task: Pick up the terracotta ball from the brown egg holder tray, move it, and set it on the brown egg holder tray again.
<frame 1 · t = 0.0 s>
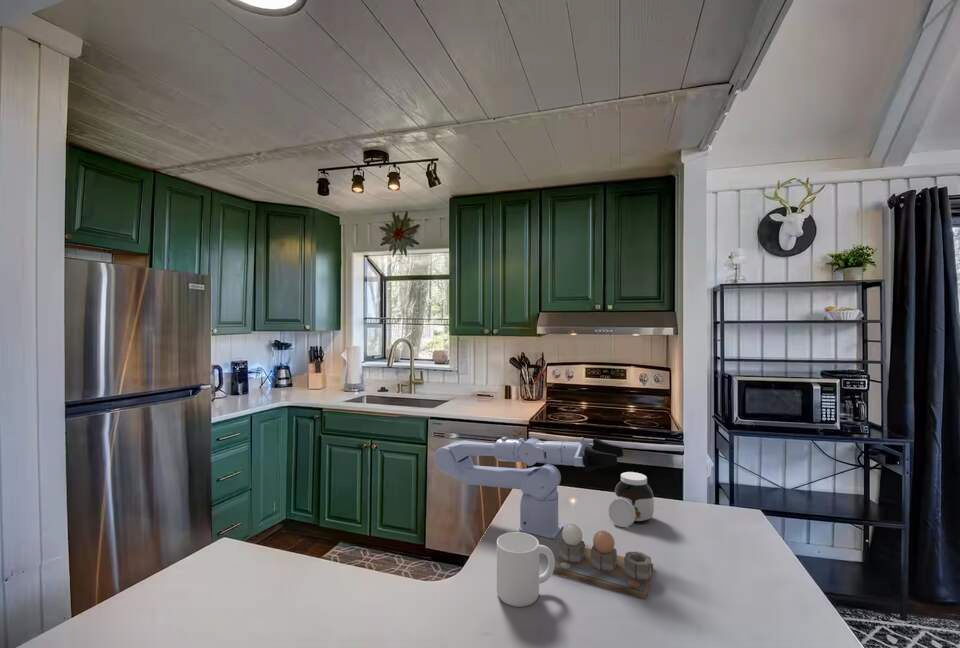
hand: (620, 455, 102), 22 cm above the table, tool horizontal, fingers open, 7 cm apart
terracotta ball: (603, 542, 93), point 6 cm above the table, touching brown egg holder tray
spread jar: (630, 521, 116), on the table
brown egg holder tray: (602, 570, 92), on the table
cream ball: (572, 534, 96), point 6 cm above the table, touching brown egg holder tray
mug: (526, 594, 84), on the table
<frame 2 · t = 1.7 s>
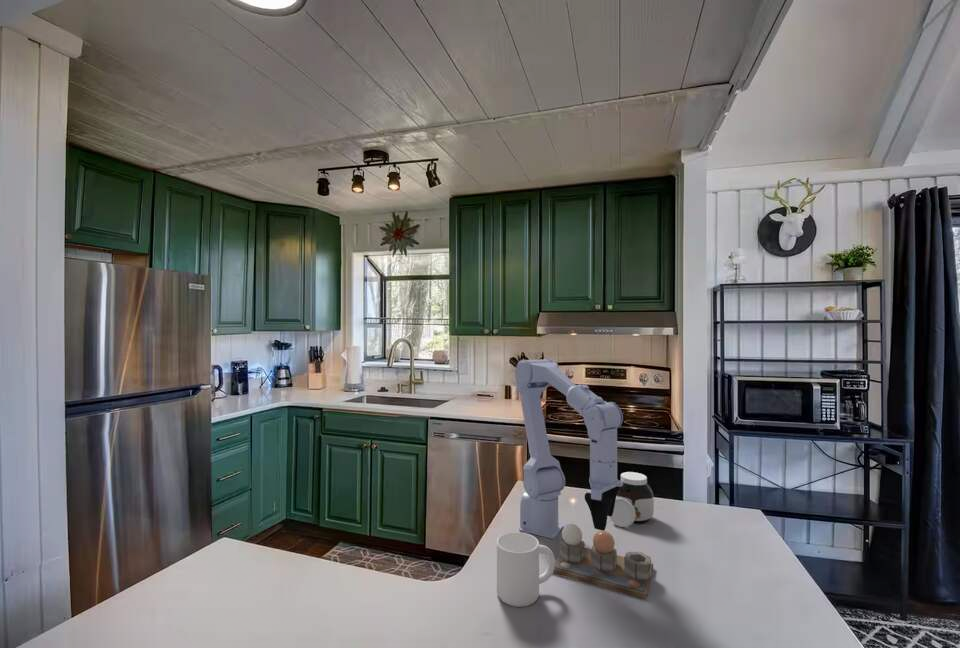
hand: (603, 521, 93), 10 cm above the table, tool pointing down, fingers open, 7 cm apart
nothing on the table moved.
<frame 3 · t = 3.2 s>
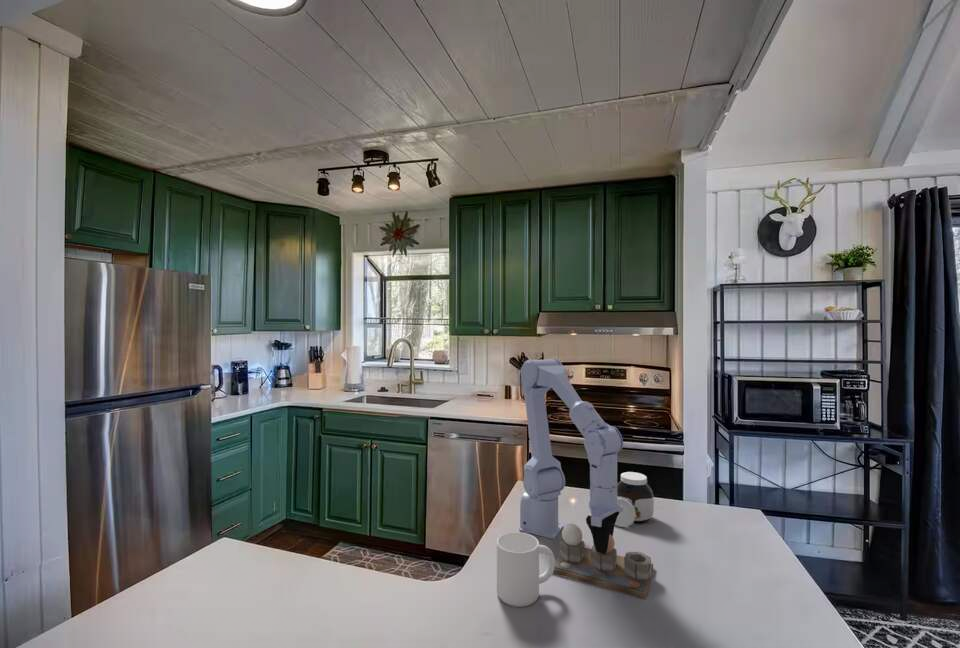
hand: (603, 546, 93), 5 cm above the table, tool pointing down, fingers closed on terracotta ball, 4 cm apart
terracotta ball: (603, 542, 93), point 6 cm above the table, touching gripper, brown egg holder tray
everything else where it was.
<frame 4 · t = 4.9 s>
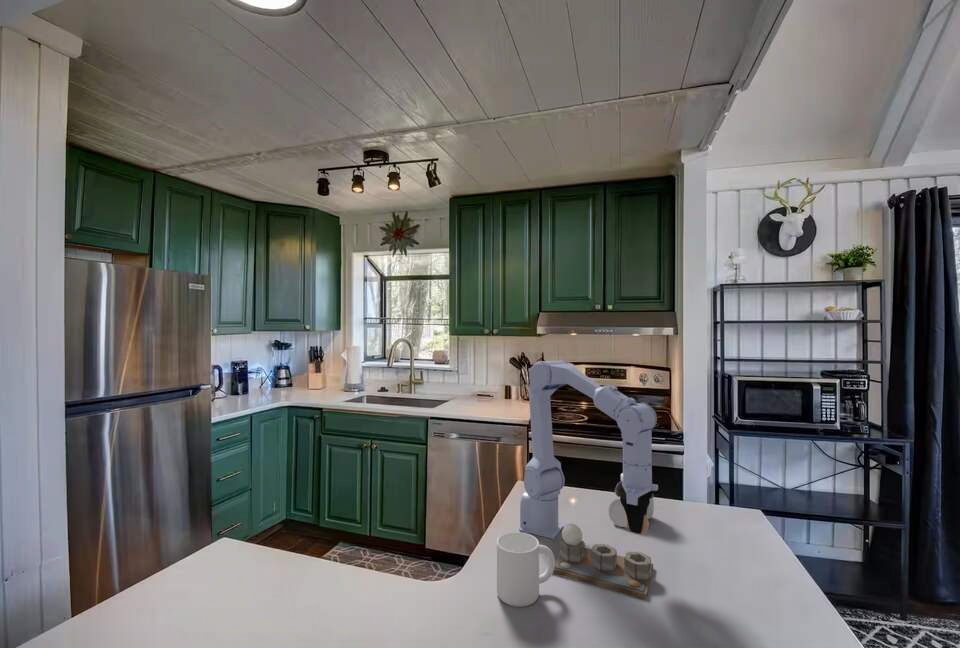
hand: (637, 527, 90), 10 cm above the table, tool pointing down, fingers closed on terracotta ball, 4 cm apart
terracotta ball: (637, 522, 90), point 11 cm above the table, touching gripper
everything else where it was.
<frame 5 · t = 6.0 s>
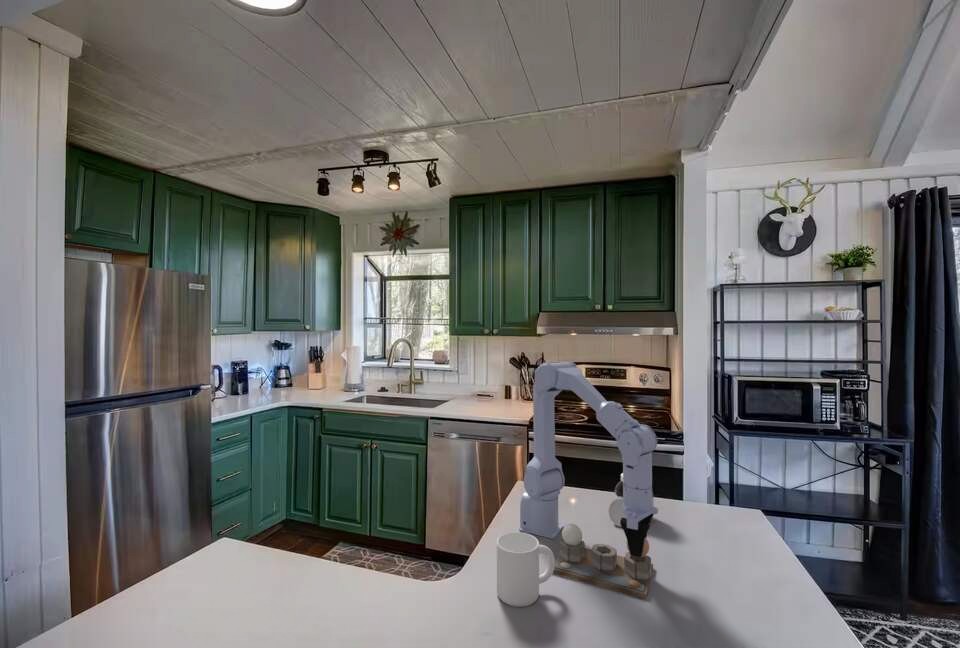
hand: (637, 549, 90), 6 cm above the table, tool pointing down, fingers closed on terracotta ball, 4 cm apart
terracotta ball: (637, 545, 90), point 7 cm above the table, touching gripper
everything else where it was.
when the fingers open (6 cm above the table, at t = 6.6 s): terracotta ball drops 1 cm, resting on brown egg holder tray.
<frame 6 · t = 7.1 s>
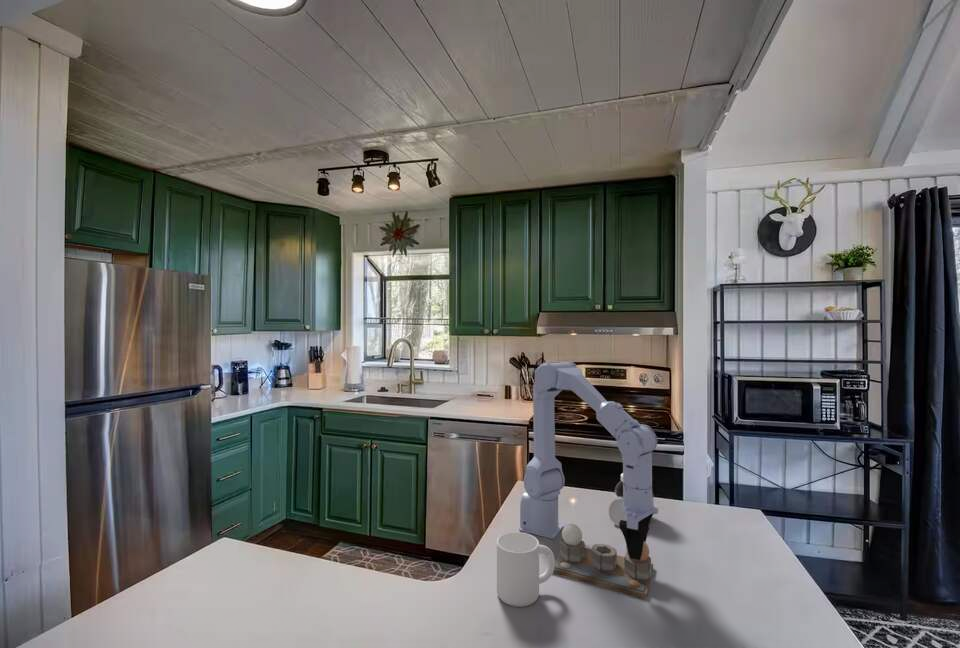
hand: (637, 549, 90), 6 cm above the table, tool pointing down, fingers open, 7 cm apart
terracotta ball: (637, 549, 90), point 6 cm above the table, touching brown egg holder tray
everything else where it was.
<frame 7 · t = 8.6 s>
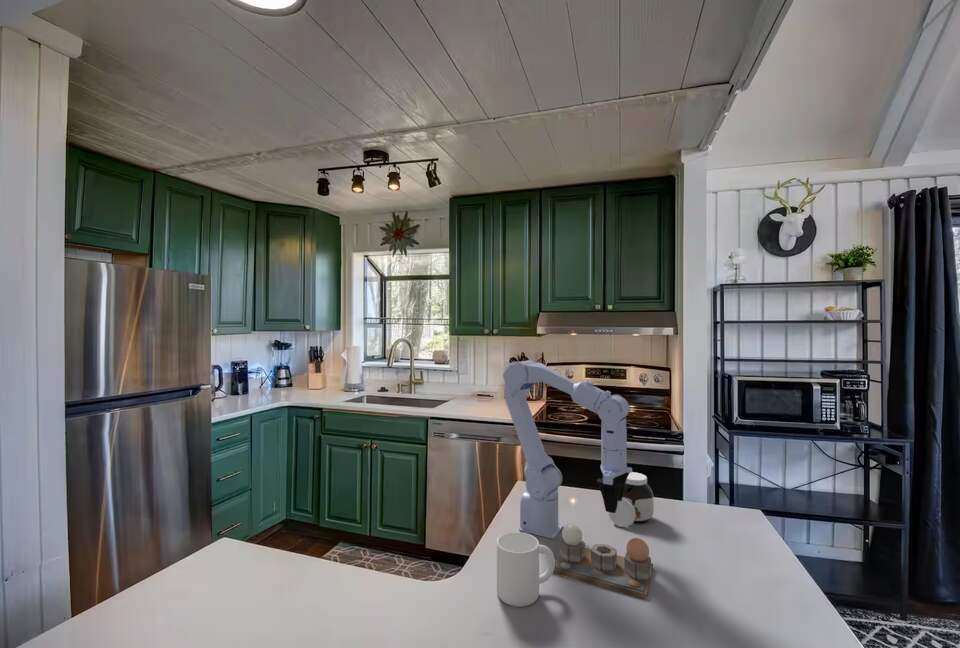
hand: (614, 505, 101), 10 cm above the table, tool pointing down, fingers open, 7 cm apart
nothing on the table moved.
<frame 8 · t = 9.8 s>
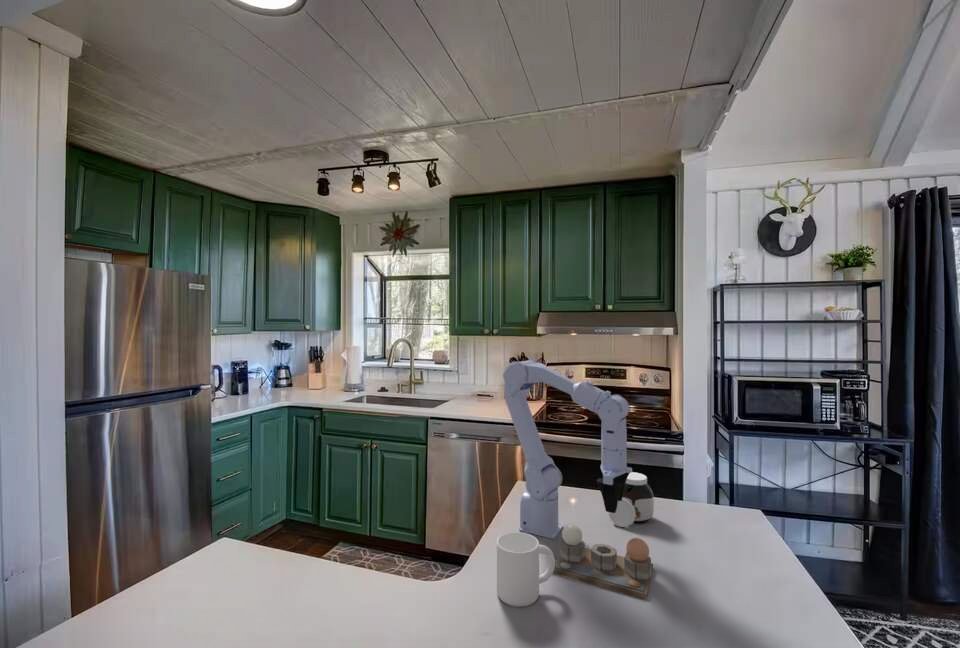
hand: (614, 505, 101), 10 cm above the table, tool pointing down, fingers open, 7 cm apart
nothing on the table moved.
at the end: terracotta ball 0.0 cm from the target spot, point 5.7 cm above the table; cream ball moved 0.1 cm from its start; the gripper is holding nothing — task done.
